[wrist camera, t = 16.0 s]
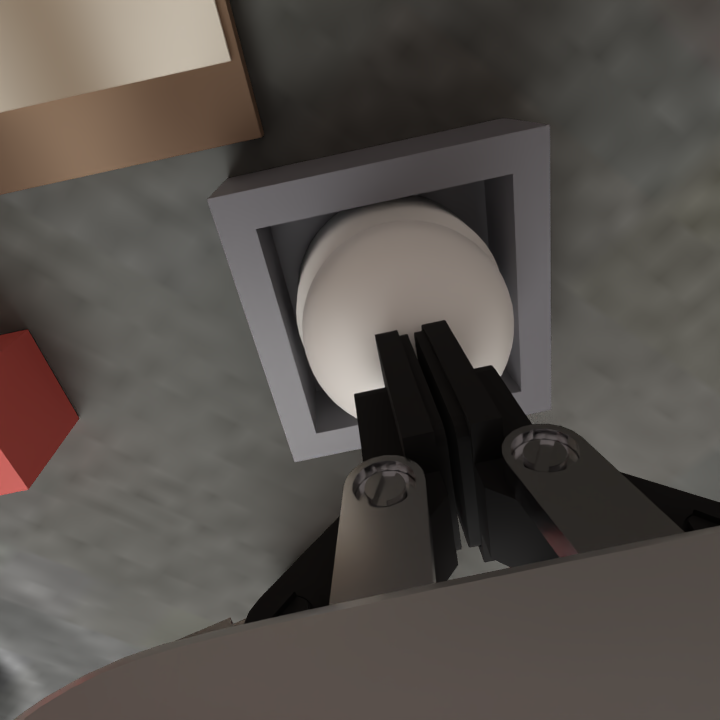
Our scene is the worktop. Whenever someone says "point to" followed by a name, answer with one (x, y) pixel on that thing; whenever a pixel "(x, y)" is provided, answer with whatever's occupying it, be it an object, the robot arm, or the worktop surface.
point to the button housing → (373, 185)
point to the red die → (28, 412)
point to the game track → (117, 85)
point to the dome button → (397, 291)
